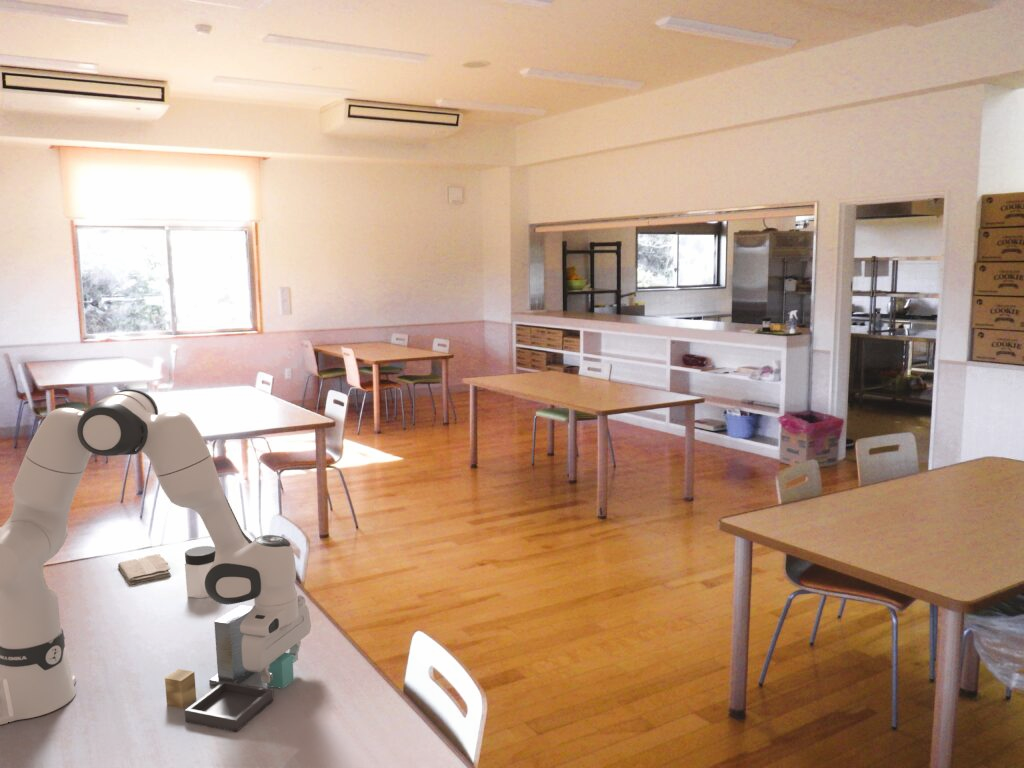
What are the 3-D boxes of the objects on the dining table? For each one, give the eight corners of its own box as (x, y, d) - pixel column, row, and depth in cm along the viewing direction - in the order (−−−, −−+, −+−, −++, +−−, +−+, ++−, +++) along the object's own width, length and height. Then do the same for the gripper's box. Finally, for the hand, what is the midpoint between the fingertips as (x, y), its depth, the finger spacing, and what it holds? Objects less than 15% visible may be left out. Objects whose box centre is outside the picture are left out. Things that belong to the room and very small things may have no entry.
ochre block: (166, 705, 170) (164, 678, 169) (180, 695, 173) (178, 669, 172) (182, 708, 168) (180, 681, 167) (196, 698, 172) (194, 671, 171)
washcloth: (130, 587, 233) (129, 577, 232) (116, 569, 247) (115, 559, 247) (174, 578, 240) (173, 567, 239) (158, 560, 254) (157, 551, 254)
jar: (217, 597, 224) (214, 555, 222) (185, 600, 222) (182, 557, 221) (221, 585, 233) (218, 544, 231) (190, 587, 231) (187, 546, 229)
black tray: (185, 721, 163) (184, 710, 163) (224, 692, 175) (223, 680, 174) (236, 732, 160) (235, 720, 159) (273, 701, 171) (272, 689, 170)
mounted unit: (209, 684, 178) (205, 622, 175) (241, 661, 188) (237, 602, 186) (233, 689, 176) (229, 626, 174) (264, 665, 186) (260, 605, 184)
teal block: (267, 685, 177) (265, 659, 176) (277, 676, 181) (276, 651, 180) (283, 688, 176) (281, 662, 175) (293, 679, 180) (292, 653, 179)
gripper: (291, 590, 187) (295, 648, 189) (234, 628, 167) (238, 692, 169) (316, 593, 185) (319, 651, 187) (260, 632, 165) (265, 697, 167)
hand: (280, 671), depth 178 cm, fingers open, 8 cm apart
